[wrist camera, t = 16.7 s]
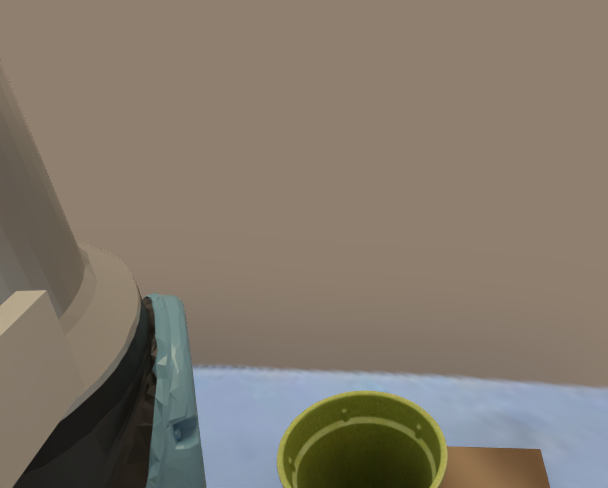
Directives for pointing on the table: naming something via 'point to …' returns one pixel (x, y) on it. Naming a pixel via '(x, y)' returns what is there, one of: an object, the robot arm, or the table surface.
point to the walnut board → (494, 468)
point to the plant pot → (363, 444)
